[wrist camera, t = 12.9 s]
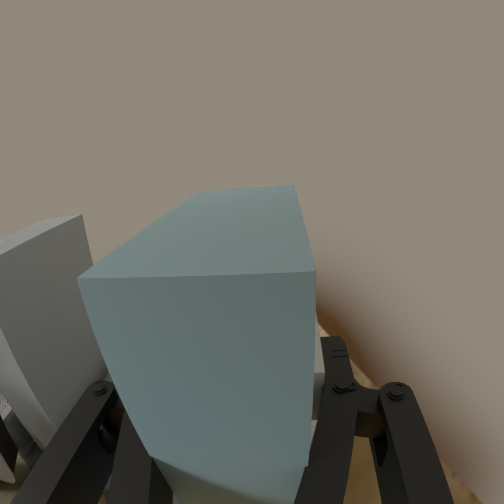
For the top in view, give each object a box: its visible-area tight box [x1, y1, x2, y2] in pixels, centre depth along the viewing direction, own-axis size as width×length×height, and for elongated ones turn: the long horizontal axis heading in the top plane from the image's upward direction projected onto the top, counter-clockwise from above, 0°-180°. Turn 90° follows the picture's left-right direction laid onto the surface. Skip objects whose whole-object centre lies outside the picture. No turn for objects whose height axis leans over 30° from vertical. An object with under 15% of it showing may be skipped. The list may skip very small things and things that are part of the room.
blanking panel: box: [77, 185, 316, 504], centre depth 13 cm, size 4×10×16 cm, turn 175°
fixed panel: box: [0, 214, 109, 450], centre depth 20 cm, size 4×11×16 cm, turn 175°
